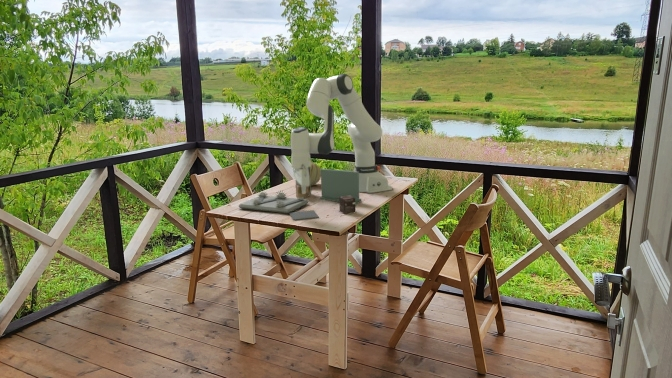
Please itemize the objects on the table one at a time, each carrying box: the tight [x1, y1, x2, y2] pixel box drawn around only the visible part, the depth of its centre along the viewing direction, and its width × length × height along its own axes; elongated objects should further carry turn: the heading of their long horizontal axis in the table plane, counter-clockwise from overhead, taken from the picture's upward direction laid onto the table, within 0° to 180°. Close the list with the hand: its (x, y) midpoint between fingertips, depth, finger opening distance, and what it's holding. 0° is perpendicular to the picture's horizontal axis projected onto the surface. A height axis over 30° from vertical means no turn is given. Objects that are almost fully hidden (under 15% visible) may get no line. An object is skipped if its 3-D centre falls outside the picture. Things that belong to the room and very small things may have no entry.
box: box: [338, 196, 356, 215], centre depth 233 cm, size 6×6×7 cm
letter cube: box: [295, 184, 310, 199], centre depth 226 cm, size 5×5×5 cm
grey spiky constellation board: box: [238, 190, 310, 214], centre depth 246 cm, size 30×22×7 cm
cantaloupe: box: [310, 159, 321, 187], centre depth 291 cm, size 15×15×15 cm
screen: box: [319, 168, 362, 205], centre depth 254 cm, size 22×6×16 cm, turn 60°
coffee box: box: [295, 167, 312, 198], centre depth 267 cm, size 9×6×16 cm
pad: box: [288, 210, 320, 221], centre depth 229 cm, size 12×12×1 cm
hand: (302, 192), depth 226 cm, fingers closed on letter cube, 5 cm apart
